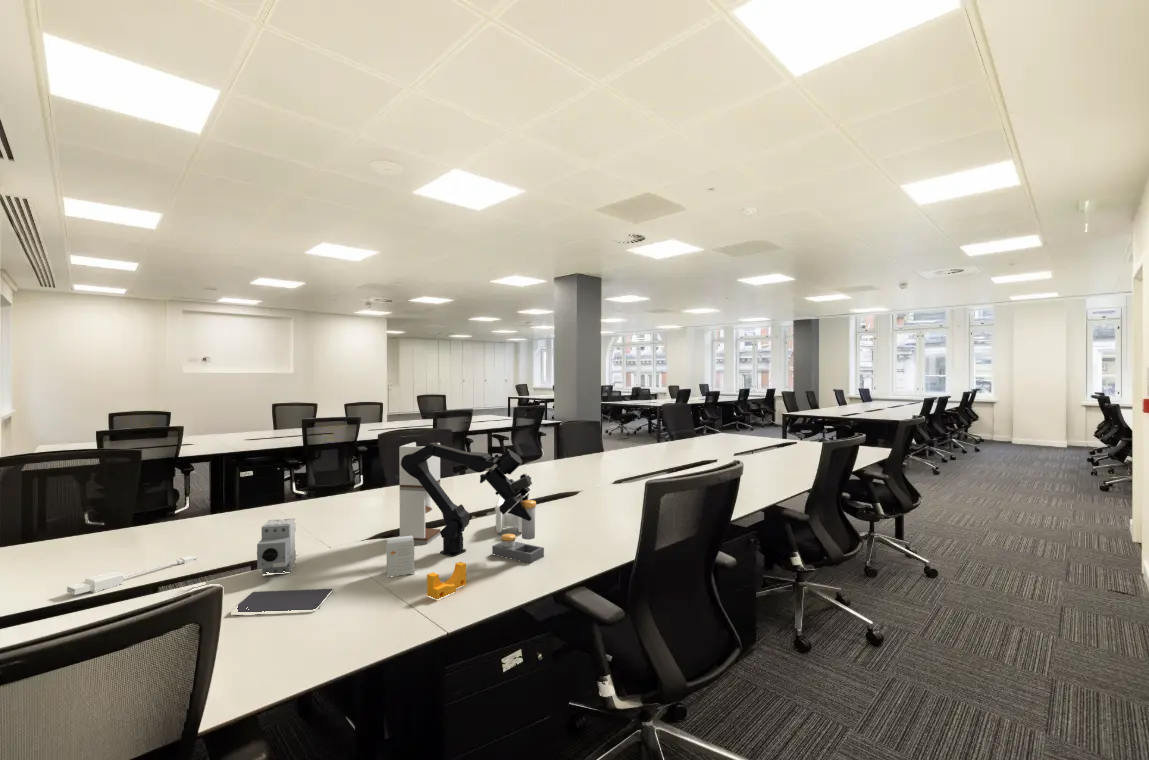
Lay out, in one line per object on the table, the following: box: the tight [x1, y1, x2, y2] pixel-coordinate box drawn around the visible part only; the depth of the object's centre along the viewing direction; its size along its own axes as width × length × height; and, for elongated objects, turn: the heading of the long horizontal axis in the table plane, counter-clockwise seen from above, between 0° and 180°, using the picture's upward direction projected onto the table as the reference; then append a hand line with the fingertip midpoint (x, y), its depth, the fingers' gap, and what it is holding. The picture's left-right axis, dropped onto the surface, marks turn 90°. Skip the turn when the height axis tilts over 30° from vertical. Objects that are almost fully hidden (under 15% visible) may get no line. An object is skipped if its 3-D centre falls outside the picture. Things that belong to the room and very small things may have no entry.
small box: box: [386, 536, 416, 578], centre depth 163 cm, size 8×6×10 cm
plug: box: [521, 499, 537, 541], centre depth 177 cm, size 5×5×12 cm
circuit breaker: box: [256, 517, 297, 575], centre depth 162 cm, size 8×14×15 cm, turn 15°
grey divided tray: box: [491, 533, 545, 564], centre depth 179 cm, size 8×16×6 cm, turn 59°
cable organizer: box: [494, 497, 522, 534], centre depth 208 cm, size 15×11×12 cm
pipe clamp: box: [426, 561, 467, 599], centre depth 150 cm, size 12×4×6 cm, turn 144°
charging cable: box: [66, 555, 199, 596], centre depth 160 cm, size 5×32×3 cm, turn 156°
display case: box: [398, 441, 441, 545], centre depth 196 cm, size 11×11×35 cm
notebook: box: [237, 588, 334, 612], centre depth 142 cm, size 13×2×21 cm
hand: (532, 518), depth 177 cm, fingers closed on plug, 4 cm apart
